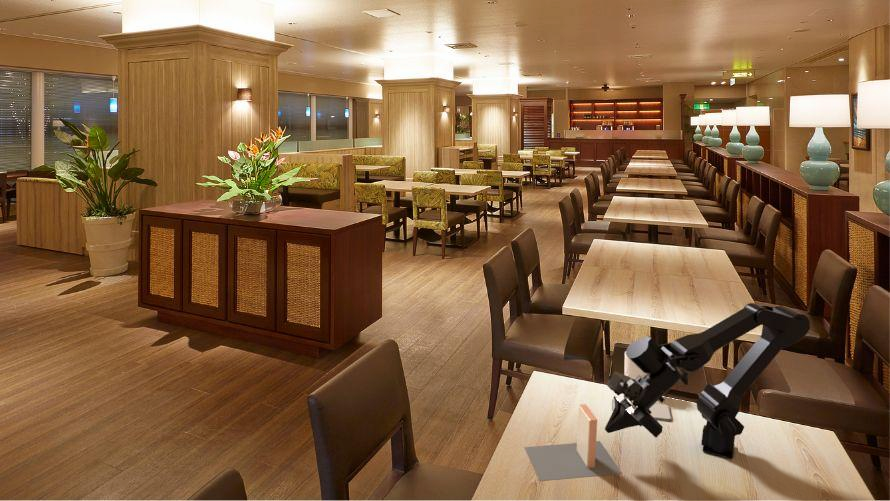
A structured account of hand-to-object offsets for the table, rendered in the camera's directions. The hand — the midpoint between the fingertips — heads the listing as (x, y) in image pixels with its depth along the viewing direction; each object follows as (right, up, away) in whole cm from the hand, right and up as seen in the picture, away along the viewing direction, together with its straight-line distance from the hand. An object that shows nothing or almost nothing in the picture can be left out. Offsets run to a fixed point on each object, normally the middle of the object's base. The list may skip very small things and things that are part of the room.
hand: (606, 431), depth 130 cm
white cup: (+20, +1, +37) cm, 42 cm away
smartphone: (+16, -2, +23) cm, 28 cm away
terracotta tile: (-5, -7, +1) cm, 8 cm away
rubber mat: (-8, -7, +1) cm, 11 cm away
